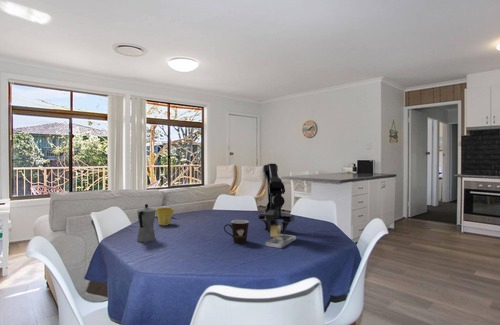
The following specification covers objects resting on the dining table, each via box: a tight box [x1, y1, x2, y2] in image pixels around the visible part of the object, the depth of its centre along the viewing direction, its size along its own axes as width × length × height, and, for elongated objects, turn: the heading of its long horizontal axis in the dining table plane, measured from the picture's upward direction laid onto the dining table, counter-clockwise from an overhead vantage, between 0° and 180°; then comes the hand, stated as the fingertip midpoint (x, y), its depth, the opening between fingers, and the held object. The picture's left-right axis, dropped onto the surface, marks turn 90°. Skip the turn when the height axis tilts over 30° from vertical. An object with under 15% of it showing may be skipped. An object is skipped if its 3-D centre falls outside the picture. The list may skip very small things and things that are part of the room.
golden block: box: [270, 224, 282, 238], centre depth 156 cm, size 4×4×6 cm
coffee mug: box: [223, 219, 249, 244], centre depth 146 cm, size 12×9×10 cm
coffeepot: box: [136, 203, 156, 243], centre depth 147 cm, size 15×9×18 cm, turn 0°
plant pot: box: [155, 207, 174, 226], centre depth 183 cm, size 10×10×10 cm
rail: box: [265, 233, 297, 249], centre depth 144 cm, size 8×18×2 cm, turn 149°
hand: (276, 233), depth 156 cm, fingers open, 8 cm apart
